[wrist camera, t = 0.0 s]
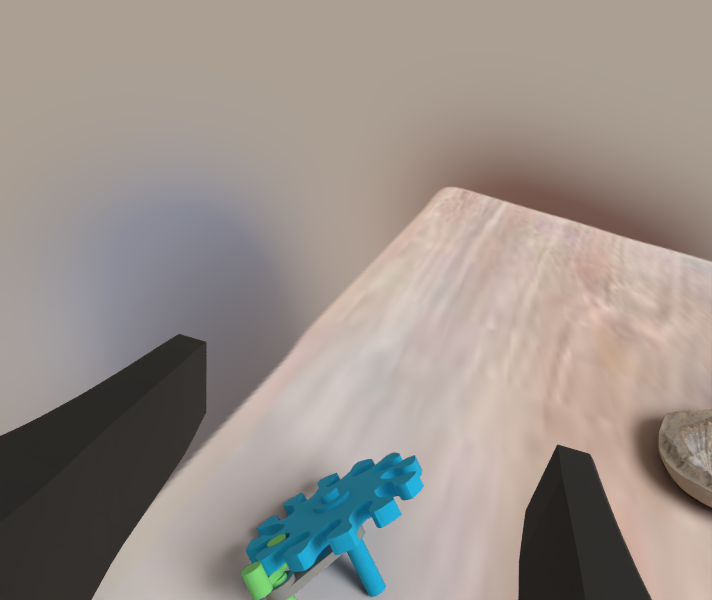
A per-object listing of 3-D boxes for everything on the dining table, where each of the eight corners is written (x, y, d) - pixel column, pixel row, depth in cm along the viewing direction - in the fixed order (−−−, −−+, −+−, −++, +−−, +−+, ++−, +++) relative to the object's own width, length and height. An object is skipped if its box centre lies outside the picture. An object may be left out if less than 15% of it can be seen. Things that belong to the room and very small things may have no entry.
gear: (346, 446, 41) (449, 437, 33) (388, 529, 41) (500, 540, 33) (196, 553, 34) (277, 575, 26) (246, 650, 35) (342, 701, 26)
